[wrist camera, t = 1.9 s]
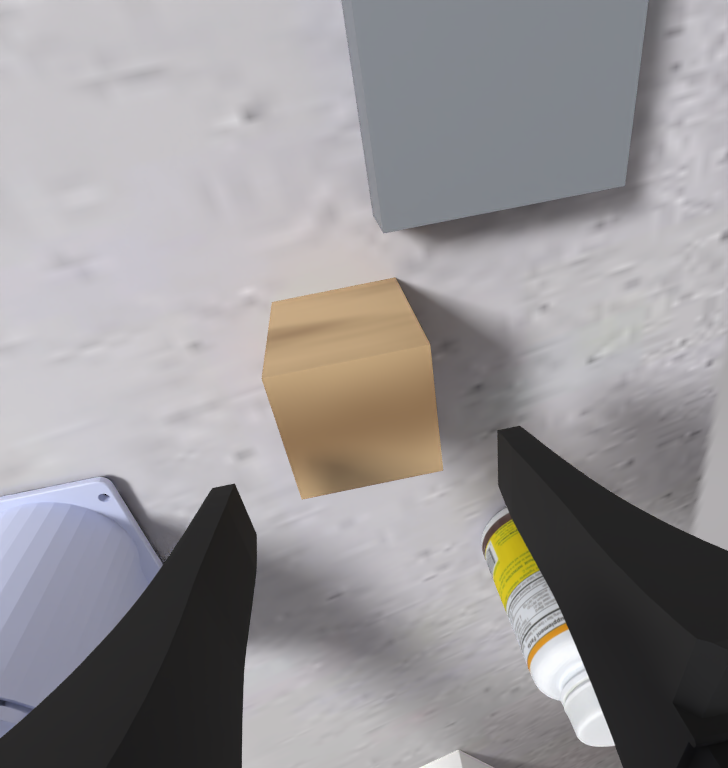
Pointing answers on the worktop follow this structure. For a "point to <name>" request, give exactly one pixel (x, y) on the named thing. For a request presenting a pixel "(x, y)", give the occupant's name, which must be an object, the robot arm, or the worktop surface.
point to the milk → (457, 761)
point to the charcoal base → (491, 101)
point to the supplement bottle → (542, 630)
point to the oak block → (352, 388)
